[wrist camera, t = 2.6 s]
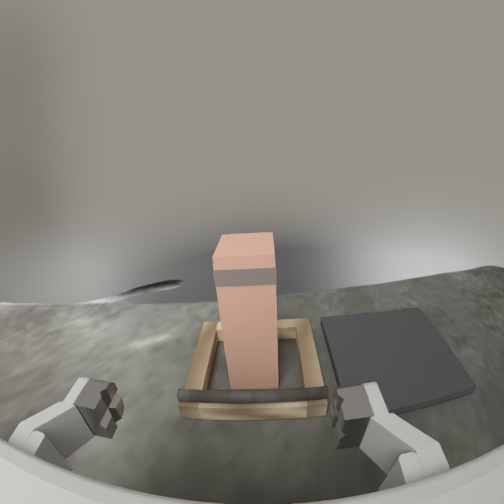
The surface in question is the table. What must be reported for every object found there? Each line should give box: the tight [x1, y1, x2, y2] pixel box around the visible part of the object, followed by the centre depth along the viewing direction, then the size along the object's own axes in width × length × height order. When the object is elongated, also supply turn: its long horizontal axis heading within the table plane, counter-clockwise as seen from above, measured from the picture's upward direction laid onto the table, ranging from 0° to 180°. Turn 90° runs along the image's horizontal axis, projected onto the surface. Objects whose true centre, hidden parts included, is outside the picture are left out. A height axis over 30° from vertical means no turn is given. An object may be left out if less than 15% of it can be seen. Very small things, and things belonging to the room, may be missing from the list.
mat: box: [321, 307, 476, 414], centre depth 25 cm, size 12×14×1 cm
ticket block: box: [212, 232, 279, 389], centre depth 24 cm, size 4×5×12 cm
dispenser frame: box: [177, 318, 328, 420], centre depth 25 cm, size 11×12×2 cm
